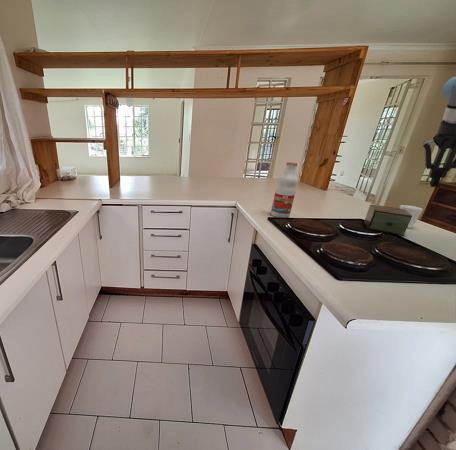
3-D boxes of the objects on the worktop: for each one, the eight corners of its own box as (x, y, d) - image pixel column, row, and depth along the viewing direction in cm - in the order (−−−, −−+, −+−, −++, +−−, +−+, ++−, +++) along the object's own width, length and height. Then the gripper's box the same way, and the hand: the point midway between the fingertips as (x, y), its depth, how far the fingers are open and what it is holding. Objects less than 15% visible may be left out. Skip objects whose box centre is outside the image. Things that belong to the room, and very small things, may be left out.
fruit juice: (289, 214, 130) (301, 162, 120) (289, 219, 122) (303, 164, 112) (270, 212, 134) (281, 161, 124) (269, 216, 126) (281, 162, 116)
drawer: (403, 235, 104) (411, 218, 101) (370, 229, 110) (376, 213, 107) (396, 226, 116) (402, 211, 113) (366, 221, 122) (371, 206, 119)
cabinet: (403, 235, 106) (412, 215, 103) (367, 229, 113) (374, 210, 109) (396, 227, 117) (403, 208, 114) (363, 221, 124) (370, 204, 121)
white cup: (400, 227, 117) (409, 208, 114) (388, 222, 124) (396, 204, 121) (418, 229, 116) (427, 210, 112) (405, 224, 123) (413, 205, 120)
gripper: (431, 126, 76) (409, 189, 89) (497, 120, 69) (463, 190, 81) (427, 118, 81) (407, 180, 93) (489, 112, 73) (458, 180, 86)
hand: (433, 185), depth 87 cm, fingers closed
